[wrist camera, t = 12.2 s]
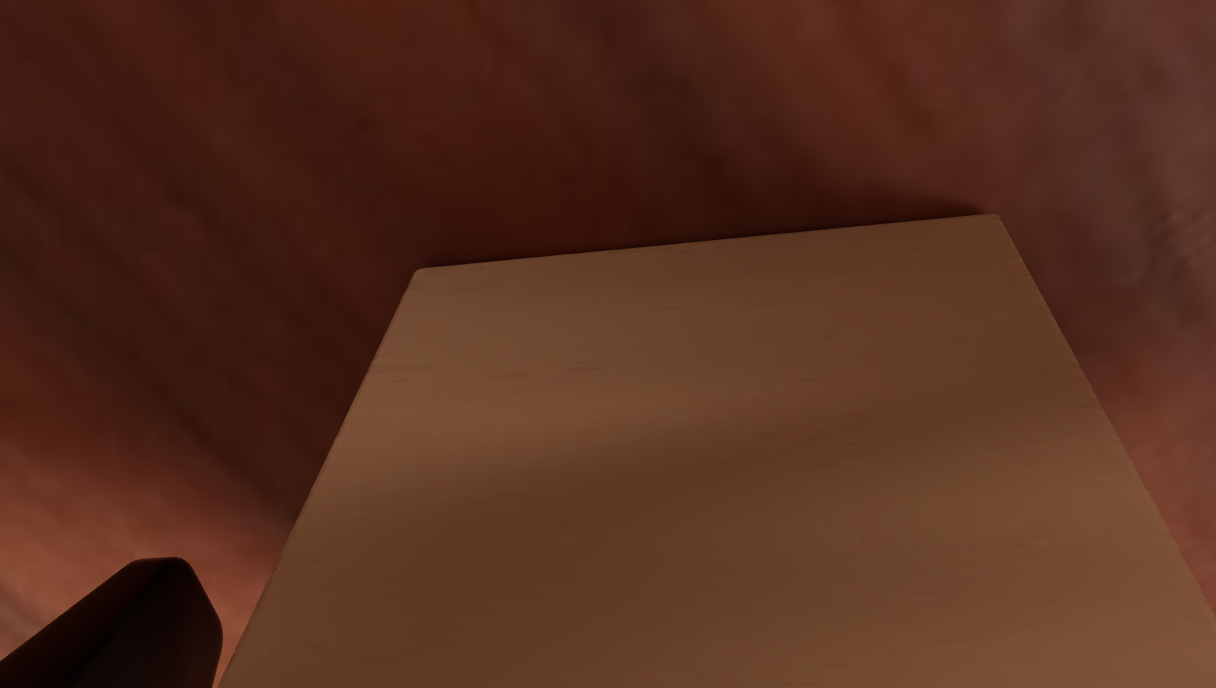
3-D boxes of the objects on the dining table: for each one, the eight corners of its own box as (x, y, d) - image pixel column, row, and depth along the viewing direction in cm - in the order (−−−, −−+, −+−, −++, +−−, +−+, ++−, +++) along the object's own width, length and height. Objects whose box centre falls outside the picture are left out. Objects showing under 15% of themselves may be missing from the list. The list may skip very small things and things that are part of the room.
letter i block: (999, 209, 7) (1320, 789, 4) (969, 621, 10) (1139, 1226, 6) (413, 265, 8) (152, 804, 4) (523, 638, 10) (420, 1190, 7)
